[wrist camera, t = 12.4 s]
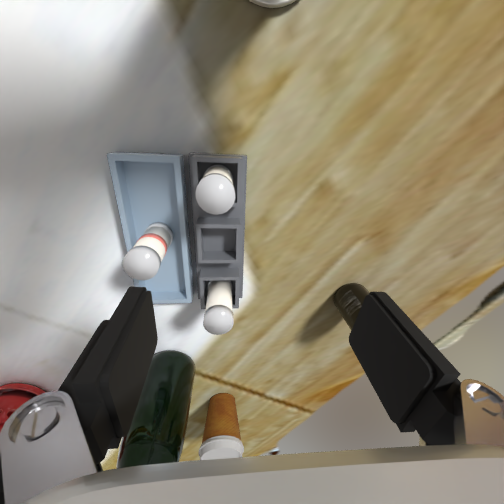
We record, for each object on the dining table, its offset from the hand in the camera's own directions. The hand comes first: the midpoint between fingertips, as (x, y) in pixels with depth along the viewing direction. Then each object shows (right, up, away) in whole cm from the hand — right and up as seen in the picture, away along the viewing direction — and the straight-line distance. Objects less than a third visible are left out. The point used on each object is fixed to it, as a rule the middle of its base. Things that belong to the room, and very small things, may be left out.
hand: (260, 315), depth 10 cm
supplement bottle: (+19, -6, +38) cm, 43 cm away
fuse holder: (-6, +6, +29) cm, 30 cm away
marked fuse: (-15, +6, +28) cm, 32 cm away
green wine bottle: (-18, -22, +42) cm, 51 cm away
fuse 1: (-5, +13, +24) cm, 28 cm away
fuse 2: (-6, -3, +32) cm, 32 cm away
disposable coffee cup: (-8, -35, +50) cm, 61 cm away
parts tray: (-15, +6, +28) cm, 33 cm away
